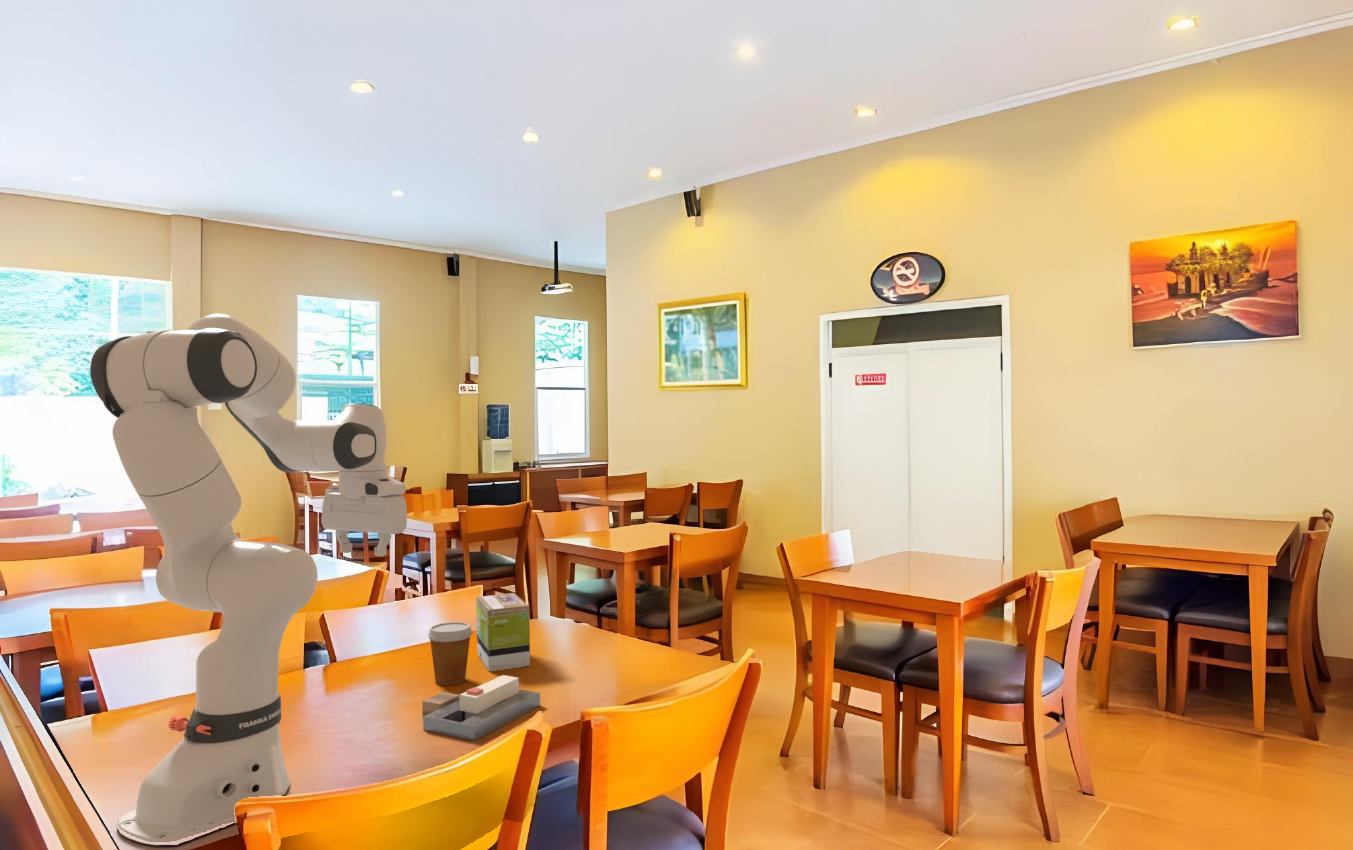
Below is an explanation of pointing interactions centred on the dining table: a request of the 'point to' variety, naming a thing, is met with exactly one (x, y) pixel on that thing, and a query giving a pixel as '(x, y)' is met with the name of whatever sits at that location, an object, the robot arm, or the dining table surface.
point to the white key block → (488, 695)
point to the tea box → (503, 631)
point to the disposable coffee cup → (450, 651)
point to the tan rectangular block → (438, 702)
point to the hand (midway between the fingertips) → (363, 554)
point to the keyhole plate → (479, 716)
